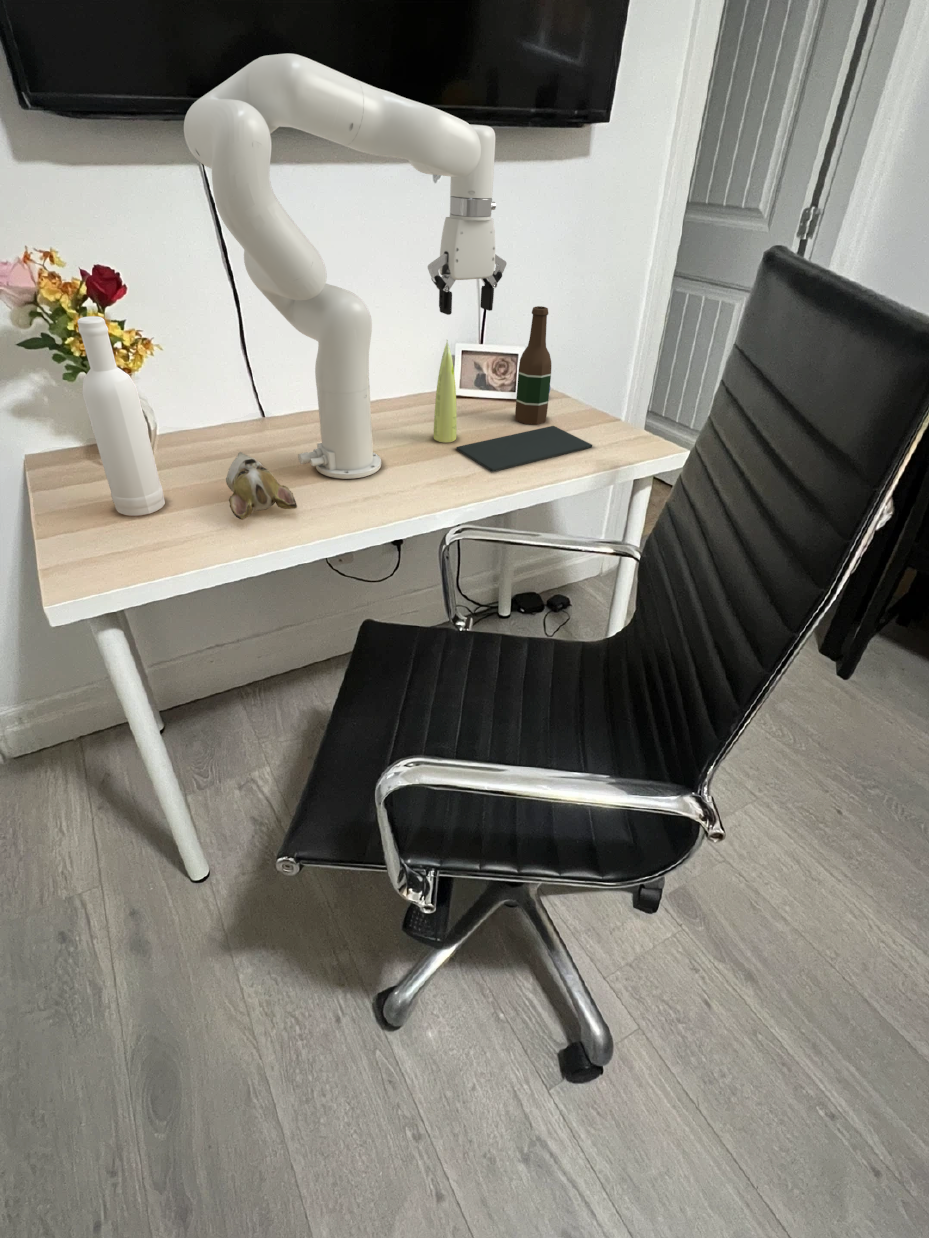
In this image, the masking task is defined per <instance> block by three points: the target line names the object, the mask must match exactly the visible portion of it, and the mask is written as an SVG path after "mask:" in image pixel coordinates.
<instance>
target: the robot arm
mask: <svg viewBox="0 0 929 1238" xmlns="http://www.w3.org/2000/svg"><path fill="white" fill-rule="evenodd" d="M278 128H291V129H295V130H300V131H302V132H304V133H307V134H310V135H312V136H316V137H318V138H322V139H325V140H327V141H330V142H332V143H335V144H339V145H340V146H344V147H347V148H349V149H352V150H355V151H357V152H361V153H363V154H369V155H371V156H378V157H385V158H386V157H388V158H396V159H402V160H407V161H408V163H409V164H410V165H411V166H412V168H413V169H415V171H418V172H419V173H422V174H424V175H425V174H426V175H433V176H442V177H449V178H450V189H449V190H450V191H449V216H445V219H444V222H443V227H442V233H441V240H440V247H439V248H440V249H439V256H438V257H437V258H436V259H434V260H433V261H431V262H430V263H429V264H428V265H427V270H428V272H429V276H430V278H431V281H432V283H433V284H434V285H435V286H436V289H437V290H438V307H439V312H440V313H441V314H444V315H447V316H450V315H452V313H453V312H452V309H453V292H452V291H451V288H452V287H453V285H454V284H455V282H456V281H468V280H481V281H482V283H483V285H481V289H480V305H479V307H480V308H481V309H482V310H485V311H489V312H490V311H491V312H492V311H493V306H494V298H495V297H494V296H495V289H496V288H497V287H498V283H499V282H500V281H501V279H502V278H503V273H504V271H505V269H506V268H507V261H506V260H505V259H503V258H502V257H501V256H499V255H497V254H496V231H495V222H494V218H492V211H495V210H496V208H497V203H496V202H495V201H493V192H494V191H493V189H494V174H495V155H496V154H495V153H496V132H495V129H494V128H493V127H492V126H489V125H485V124H484V125H483V124H469V123H468V122H467V121H465V120H463V119H461V118H459V117H457V116H455V115H452V114H450V113H448V112H446V111H443V110H441V109H438V108H436V107H434V106H431V105H428V104H425V103H422V102H419V101H416V100H413V99H410V98H406V97H404V96H401V95H399V94H396V93H394V92H391V91H388V90H385V89H381V88H378V87H376V86H373V85H372V84H368V83H366V82H364V81H361V80H359V79H356V78H353V77H351V76H349V75H347V74H345V73H343V72H340V71H338V70H336V69H334V68H331V67H329V66H327V65H324V64H323V63H320V62H318V61H316V60H313V59H311V58H308V57H306V56H303V55H300V54H297V53H290V52H289V53H278V54H277V53H276V54H269V55H268V54H267V55H263V56H259V57H258V58H256V59H254V60H252V61H251V62H249V63H248V64H246V65H245V66H244V67H242V68H241V69H239V70H238V71H237V72H236V73H234V74H233V75H231V76H230V77H228V78H227V79H226V80H224V81H223V82H221V83H220V84H218V85H217V86H215V87H214V88H212V89H211V90H210V91H208V92H207V93H205V94H204V95H203V96H201V97H199V98H197V100H196V101H194V103H192V104H191V106H190V107H189V108H188V110H187V112H186V114H185V117H184V121H183V135H184V141H185V143H186V146H187V148H188V150H189V151H190V153H191V155H192V156H193V157H194V158H195V159H196V160H197V161H198V162H199V163H200V164H202V165H203V166H205V167H207V168H209V169H211V182H212V183H211V184H212V191H213V198H214V202H215V206H216V210H217V212H218V214H219V216H220V218H221V220H222V222H223V224H224V225H225V227H226V228H227V230H228V231H229V232H230V235H232V237H233V238H234V239H235V240H236V241H237V243H238V244H239V245H240V246H241V247H242V249H243V262H244V267H245V270H246V273H247V274H248V276H249V278H250V280H251V282H252V283H253V284H254V285H255V287H256V288H257V289H258V290H259V291H260V292H261V294H262V295H263V296H264V297H265V298H266V299H267V300H268V301H269V303H270V304H271V305H272V306H274V308H275V309H276V310H277V311H278V312H279V313H280V314H281V315H282V316H283V318H285V320H286V321H287V322H288V323H289V324H290V325H291V326H292V327H293V328H294V329H295V330H297V331H298V332H299V333H301V334H302V335H304V336H305V337H307V338H310V339H312V340H314V341H316V342H318V343H317V344H318V346H317V347H318V348H317V354H316V359H315V368H314V373H315V375H314V376H315V385H316V386H315V387H316V396H317V405H318V417H319V426H320V427H319V428H320V437H321V439H320V441H321V442H318V443H316V448H315V449H313V450H312V451H308V452H307V451H306V452H302V453H298V454H297V460H298V463H299V464H300V465H303V464H308V463H309V464H310V466H311V467H315V469H316V470H317V472H319V473H320V474H322V475H324V476H326V477H329V478H334V479H341V480H343V479H344V480H350V479H351V480H352V479H360V478H364V477H368V476H371V475H373V474H375V473H376V472H378V471H379V470H380V469H381V467H382V459H381V457H380V456H379V455H378V454H377V453H376V452H374V451H373V450H374V449H373V429H372V427H373V426H372V406H371V405H372V404H371V387H370V346H371V339H372V332H373V322H372V321H373V320H372V316H371V312H370V309H369V308H368V306H367V304H366V303H365V301H364V300H363V299H362V298H361V297H359V295H357V294H355V293H354V292H352V291H350V290H347V289H345V288H342V287H339V286H337V285H332V284H329V283H327V278H328V276H327V268H326V267H327V266H326V264H325V262H324V259H323V258H322V255H321V254H320V252H319V250H317V248H316V247H315V246H314V244H313V243H312V242H311V241H310V240H309V238H307V236H306V235H305V233H304V232H303V231H302V230H301V229H300V227H299V226H298V225H297V224H296V223H295V221H294V220H293V218H292V217H291V215H289V214H288V212H287V210H285V208H284V207H283V205H282V204H281V203H280V201H279V199H278V198H277V196H276V194H275V192H274V189H273V187H272V182H271V174H270V171H271V170H270V169H271V159H272V158H271V157H272V135H271V134H272V133H274V131H276V130H277V129H278Z"/></svg>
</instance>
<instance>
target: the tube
mask: <svg viewBox="0 0 929 1238" xmlns="http://www.w3.org/2000/svg"><path fill="white" fill-rule="evenodd" d="M456 388H457V387H456V377H455V368H454V361H453V356H452V351H451V347H450V345H449V340H448V339H446V343H445V345H444V348H443V352H442V356H441V361H440V366H439V371H438V377H437V384H436V392H435V403H434V416H433V417H434V419H433V439H434V441H436V442H439V443H444V444H445V443H446V444H447V443H452V442H453V443H454V441H456V440H457V430H458V429H457V427H458V425H457V424H458V421H457V415H458V414H457V413H458V411H457V410H458V409H457V389H456Z"/></svg>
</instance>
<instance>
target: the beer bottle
mask: <svg viewBox="0 0 929 1238" xmlns="http://www.w3.org/2000/svg"><path fill="white" fill-rule="evenodd" d="M531 314H532V318H531V325H530V331H529V332H530V333H529V339H528V340H529V341H528V343H527V346H526V348H525V349H524V351H522V354H521V357H520V359H519V364H518V370H517V371H518V373H517V385H516V386H517V387H516V396H515V397H516V398H515V411H514V412H515V413H514V414H515V416H514V418H515V421H516V422H519V423H521V424H523V425H535V426H537V425H539V424H540V425H541V424H544V423H546V421H547V415H548V408H549V407H548V406H549V397H550V393H549V390H550V391H551V380H552V379H551V378H552V357H551V354H550V352H549V350H548V348H547V323H548V322H547V319H548V315H549V308H548V307H546V306H542V305H541V306H540V305H538V306H533V307H532V310H531Z"/></svg>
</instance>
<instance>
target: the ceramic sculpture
mask: <svg viewBox="0 0 929 1238" xmlns="http://www.w3.org/2000/svg"><path fill="white" fill-rule="evenodd" d="M225 483H226V486H227V487H228V489H229V490H230V491H231V492H232V494H231V495H230V496H229V499H228V502H229V508H230V510H231V512H232V514H233V516H234V517H235V518H237V519H238V520H241V521H243V520H245V519H247V518H248V517H250V516H251V515H252V514H253V512H259V511H264V510H268V509H270V508H272V507H273V506H274V505H275V504H276V506H277V507H278V508H280V509H284V510H294V509H297V508H298V505H297V502H296V499H295V496H294V493H293V492H292V490H290V489H289V486H286V485H283V484H280V483H278V481H277V479H276V477H275V476H274V475H273V473H272V472H271V471H270V470H269V469H268V468H267V467H265V466H264V465H263V463H261V462H260V461H259V460H257V459H256V458H254V457H252V456H249V455H247V454H246V453H243V452H242V451H239V452H238V453H237V455H236V457H235V458H234V459H233V461H232V462H231V464H230V466H229V468H228V471H227V475H226V476H225Z"/></svg>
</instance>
